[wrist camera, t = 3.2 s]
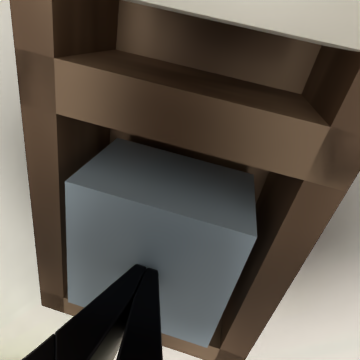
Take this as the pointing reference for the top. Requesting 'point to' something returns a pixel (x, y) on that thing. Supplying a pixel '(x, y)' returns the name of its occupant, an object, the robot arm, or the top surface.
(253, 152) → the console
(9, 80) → the top surface
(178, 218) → the slate key
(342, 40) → the cream block
